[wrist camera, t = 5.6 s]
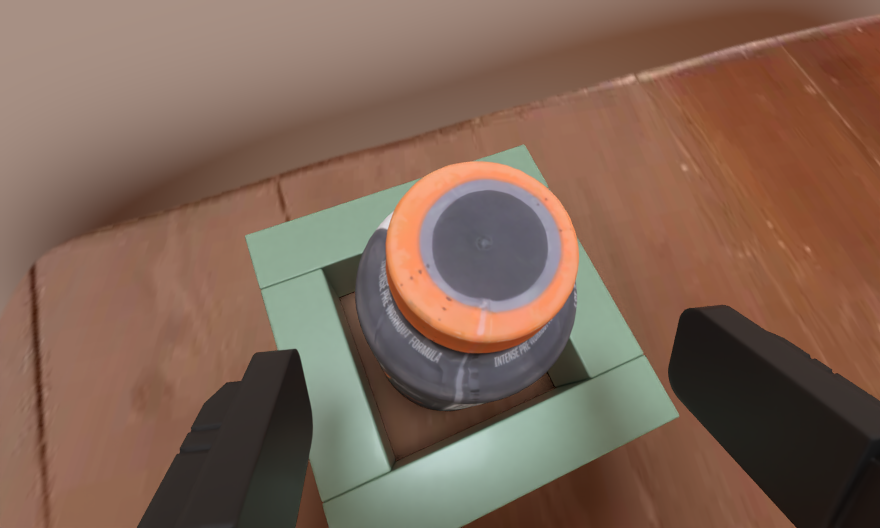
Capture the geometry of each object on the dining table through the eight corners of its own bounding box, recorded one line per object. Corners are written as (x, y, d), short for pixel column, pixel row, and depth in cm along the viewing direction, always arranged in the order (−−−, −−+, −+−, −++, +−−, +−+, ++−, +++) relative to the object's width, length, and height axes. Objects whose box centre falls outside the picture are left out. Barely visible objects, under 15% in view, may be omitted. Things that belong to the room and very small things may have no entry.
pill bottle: (361, 301, 19) (301, 154, 9) (481, 263, 20) (554, 90, 10) (402, 433, 17) (387, 447, 7) (531, 383, 19) (689, 329, 8)
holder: (360, 549, 16) (345, 586, 12) (275, 271, 20) (243, 235, 16) (626, 418, 18) (680, 416, 15) (505, 191, 22) (524, 143, 18)
